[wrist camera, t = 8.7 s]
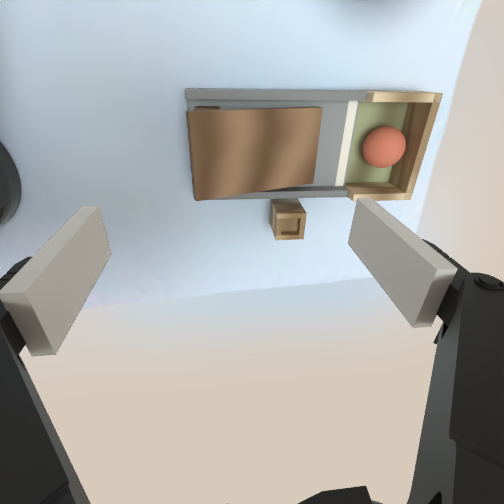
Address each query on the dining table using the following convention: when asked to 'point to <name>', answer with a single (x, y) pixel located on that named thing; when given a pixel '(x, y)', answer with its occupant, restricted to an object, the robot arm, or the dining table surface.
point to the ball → (384, 147)
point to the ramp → (251, 149)
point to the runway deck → (330, 137)
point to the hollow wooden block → (287, 219)
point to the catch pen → (416, 136)
